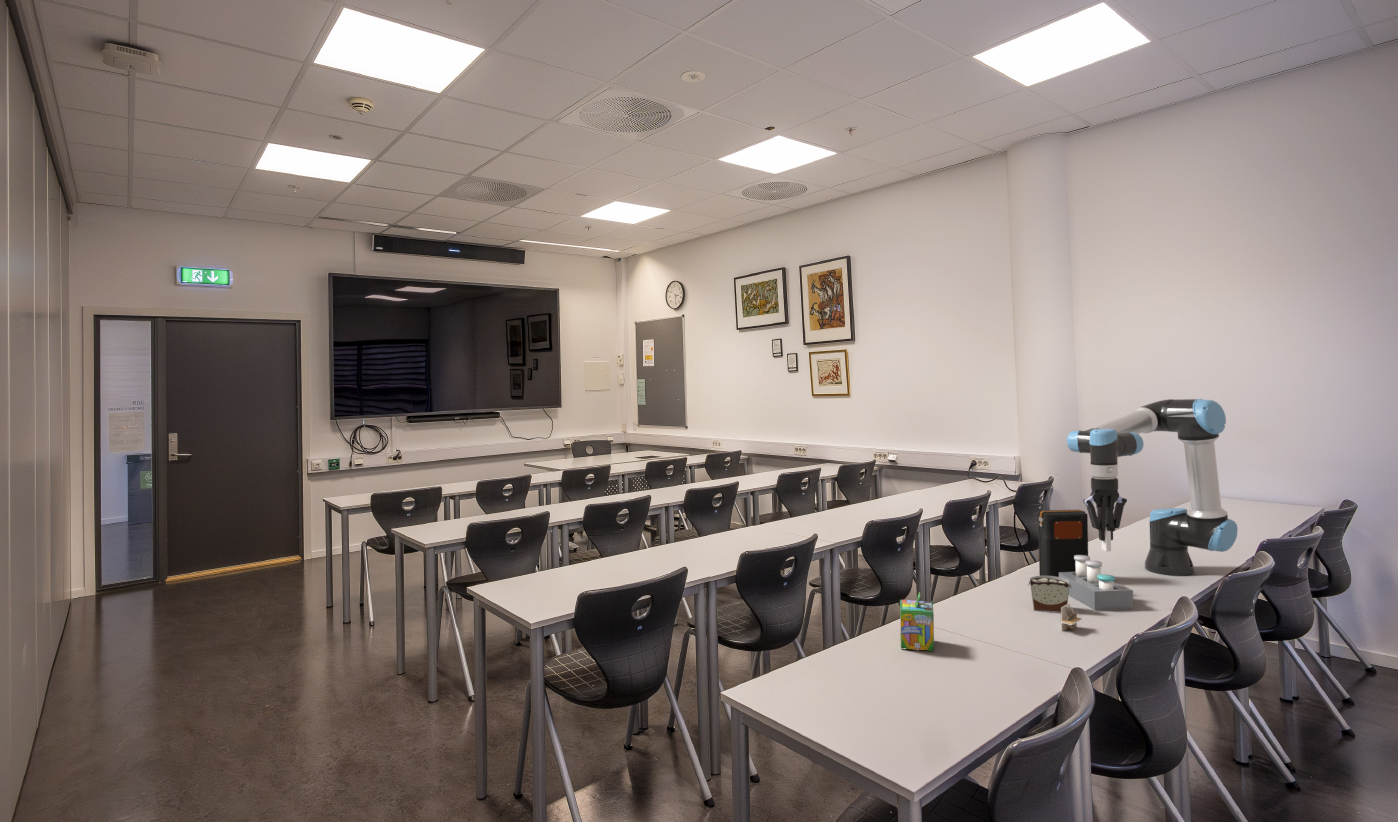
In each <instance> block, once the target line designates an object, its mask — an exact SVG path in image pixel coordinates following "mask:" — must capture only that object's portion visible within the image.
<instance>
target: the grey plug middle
mask: <svg viewBox="0 0 1398 822" xmlns="http://www.w3.org/2000/svg"><path fill="white" fill-rule="evenodd" d="M1085 565H1087V582H1089V583H1099V580H1098V579H1097V575H1099V574H1102V572H1101V571H1102V568H1101V567H1102V566H1103V562H1102V561H1099V560H1095V559H1093V560H1092V559H1090V560H1087V561H1085Z"/></svg>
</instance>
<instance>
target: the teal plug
mask: <svg viewBox="0 0 1398 822" xmlns="http://www.w3.org/2000/svg"><path fill="white" fill-rule="evenodd" d="M1097 579H1098V580H1099V588H1101V589H1103V590H1109V589H1114V586H1113V581H1115V582H1116V577H1115V576H1114V575H1111V574H1103V573H1101V574H1099V575H1097Z"/></svg>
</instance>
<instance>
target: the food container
mask: <svg viewBox="0 0 1398 822" xmlns="http://www.w3.org/2000/svg"><path fill="white" fill-rule="evenodd" d="M1027 586H1030V591H1031V593H1030V594H1031V600H1032V605H1033V611H1034V612H1044V611H1047V612H1046V613H1060V614H1061V607H1063V606H1065V605H1067V604H1069V597H1070V596H1069V587H1070V588H1072V587H1071V584H1070V582H1069V581H1068V580H1066V579H1064V578H1060V577H1054V576H1040V575H1035V576H1032V577H1030V578H1029V580H1028V585H1027Z"/></svg>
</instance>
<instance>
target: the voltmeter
mask: <svg viewBox="0 0 1398 822" xmlns="http://www.w3.org/2000/svg"><path fill="white" fill-rule="evenodd" d="M1037 513H1038V514H1037V515H1038V517H1037V518H1038V521H1037V522H1038V558H1039V559H1038V562H1039V563H1038V564H1039V566H1038V567H1039V576H1054V577H1059V572H1076V562H1075V560H1074V556H1075V555H1086V556H1089V529H1088V528H1089V527H1088V525H1089V522H1088V521H1089V519H1088V516H1089V514H1088V513H1086V511H1084V510H1082V509H1046V510H1043V509H1041V510H1038V511H1037Z"/></svg>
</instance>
